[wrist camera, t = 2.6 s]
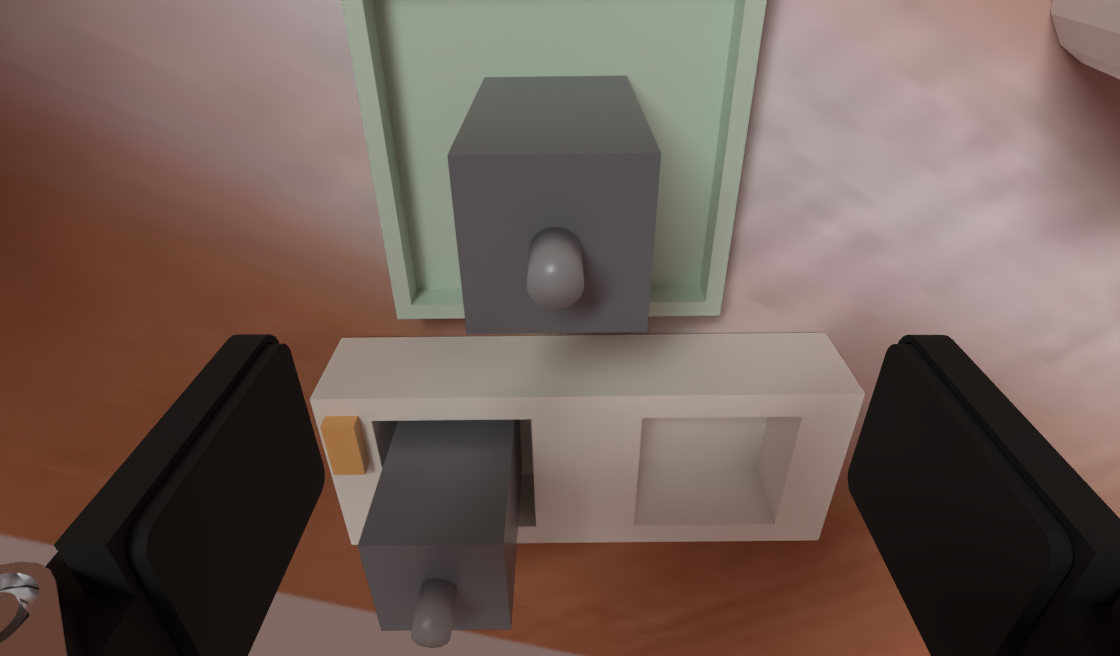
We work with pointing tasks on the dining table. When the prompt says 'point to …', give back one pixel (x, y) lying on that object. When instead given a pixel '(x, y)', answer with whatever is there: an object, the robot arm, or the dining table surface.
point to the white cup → (1090, 32)
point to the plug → (555, 206)
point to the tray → (556, 50)
